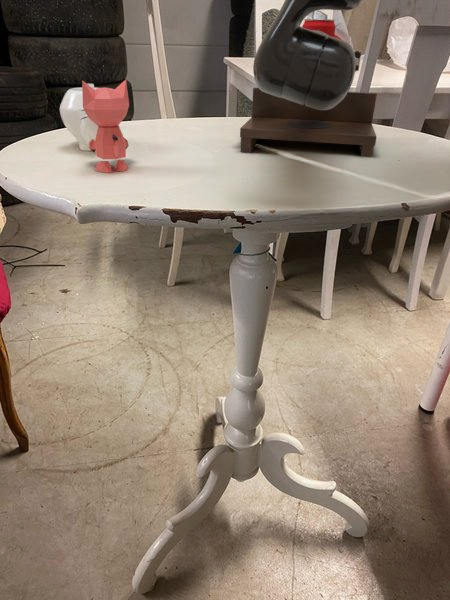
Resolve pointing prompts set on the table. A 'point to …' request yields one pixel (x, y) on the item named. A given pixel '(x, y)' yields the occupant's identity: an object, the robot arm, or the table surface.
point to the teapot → (78, 117)
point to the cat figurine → (107, 123)
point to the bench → (311, 122)
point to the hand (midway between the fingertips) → (316, 57)
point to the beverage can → (320, 25)
